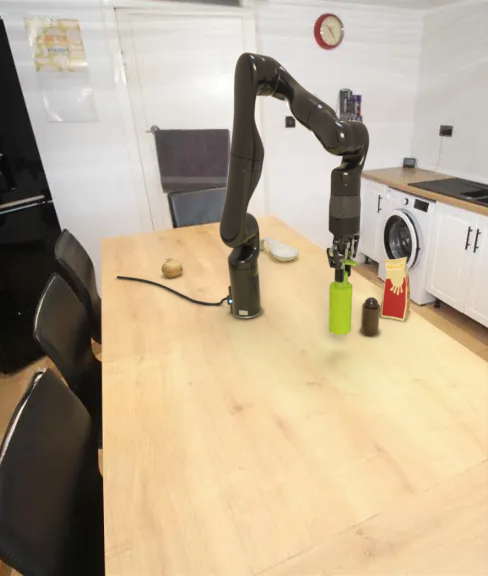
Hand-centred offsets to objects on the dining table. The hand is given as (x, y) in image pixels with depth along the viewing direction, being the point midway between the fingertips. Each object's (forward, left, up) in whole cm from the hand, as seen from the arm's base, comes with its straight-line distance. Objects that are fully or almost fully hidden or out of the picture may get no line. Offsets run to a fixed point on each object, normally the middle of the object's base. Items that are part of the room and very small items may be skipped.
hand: (342, 278), depth 104 cm
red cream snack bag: (+4, +30, -23) cm, 38 cm away
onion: (-83, +15, -23) cm, 87 cm away
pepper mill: (+2, +15, -23) cm, 28 cm away
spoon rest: (-60, +53, -23) cm, 83 cm away
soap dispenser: (0, 0, -15) cm, 15 cm away
